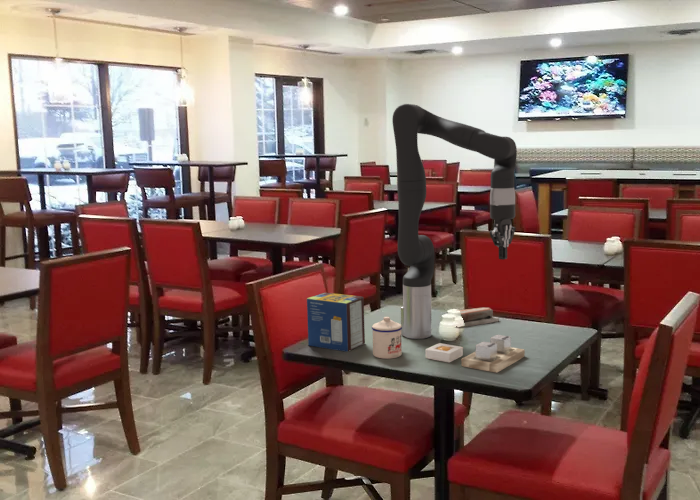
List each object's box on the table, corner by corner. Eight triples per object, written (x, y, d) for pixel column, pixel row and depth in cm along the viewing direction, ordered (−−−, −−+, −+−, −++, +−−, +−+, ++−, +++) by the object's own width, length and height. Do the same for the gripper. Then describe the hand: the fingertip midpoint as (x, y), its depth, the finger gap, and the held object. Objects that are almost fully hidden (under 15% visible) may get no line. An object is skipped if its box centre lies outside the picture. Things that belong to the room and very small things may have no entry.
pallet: (461, 367, 204) (461, 358, 203) (490, 351, 218) (490, 343, 217) (497, 373, 197) (497, 365, 197) (524, 357, 211) (524, 349, 211)
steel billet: (475, 365, 203) (475, 344, 202) (482, 361, 207) (482, 340, 206) (489, 368, 201) (489, 346, 200) (496, 364, 204) (497, 343, 203)
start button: (435, 355, 212) (435, 348, 212) (442, 352, 215) (441, 345, 215) (446, 357, 210) (446, 350, 210) (452, 354, 213) (452, 347, 213)
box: (425, 359, 212) (425, 349, 212) (439, 352, 218) (439, 343, 218) (449, 363, 207) (449, 353, 207) (462, 356, 213) (462, 347, 213)
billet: (490, 357, 210) (490, 337, 210) (497, 354, 214) (497, 333, 213) (504, 360, 208) (504, 339, 207) (510, 356, 211) (510, 336, 210)
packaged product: (457, 315, 246) (441, 309, 255) (457, 329, 247) (441, 323, 256) (499, 309, 254) (482, 304, 263) (499, 322, 255) (482, 316, 264)
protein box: (325, 338, 238) (324, 292, 236) (365, 343, 230) (364, 296, 228) (307, 345, 230) (305, 298, 227) (347, 352, 221) (346, 302, 219)
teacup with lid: (391, 361, 211) (391, 322, 209) (366, 356, 216) (365, 318, 215) (413, 351, 221) (412, 314, 219) (388, 346, 226) (387, 310, 224)
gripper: (501, 201, 226) (501, 255, 229) (481, 204, 216) (481, 261, 218) (523, 201, 221) (523, 257, 224) (503, 204, 211) (504, 263, 214)
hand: (502, 259), depth 221 cm, fingers closed
